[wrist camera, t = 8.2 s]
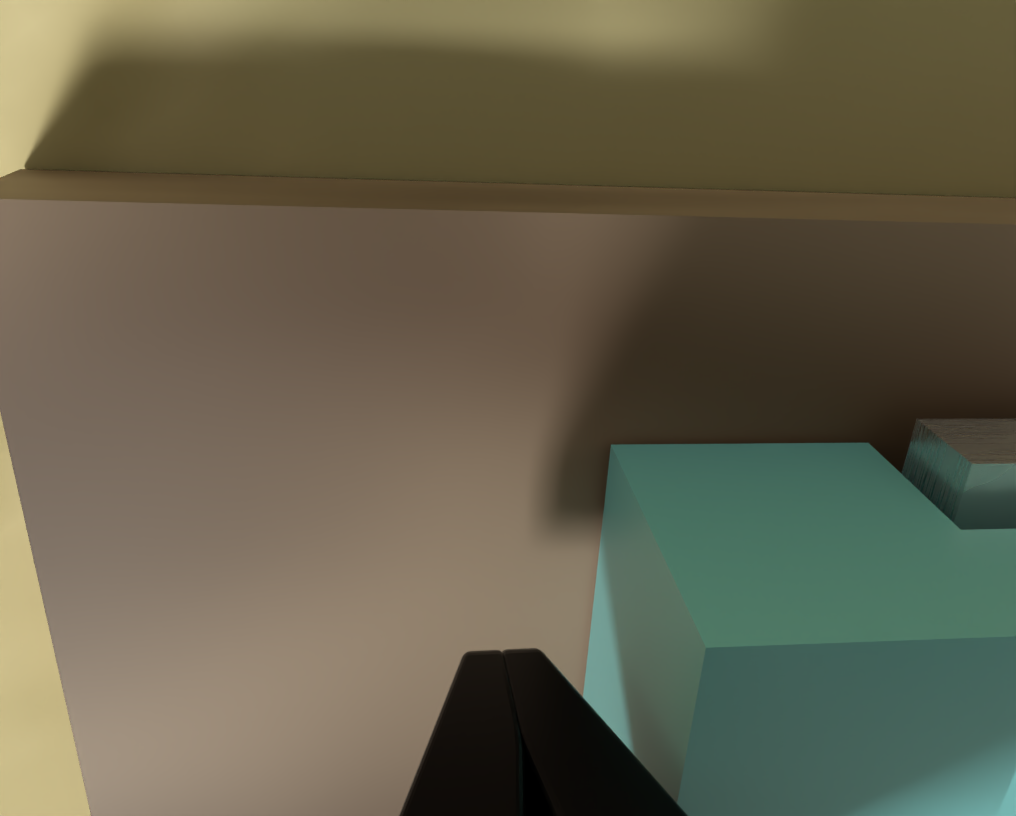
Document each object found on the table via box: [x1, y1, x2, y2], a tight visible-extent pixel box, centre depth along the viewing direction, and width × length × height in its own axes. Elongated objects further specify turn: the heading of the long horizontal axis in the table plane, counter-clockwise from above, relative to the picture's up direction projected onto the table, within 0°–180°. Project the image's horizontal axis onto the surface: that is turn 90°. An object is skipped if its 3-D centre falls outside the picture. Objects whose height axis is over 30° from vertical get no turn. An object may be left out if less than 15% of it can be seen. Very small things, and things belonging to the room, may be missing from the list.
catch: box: [583, 443, 1016, 816], centre depth 9 cm, size 4×8×3 cm, turn 87°
